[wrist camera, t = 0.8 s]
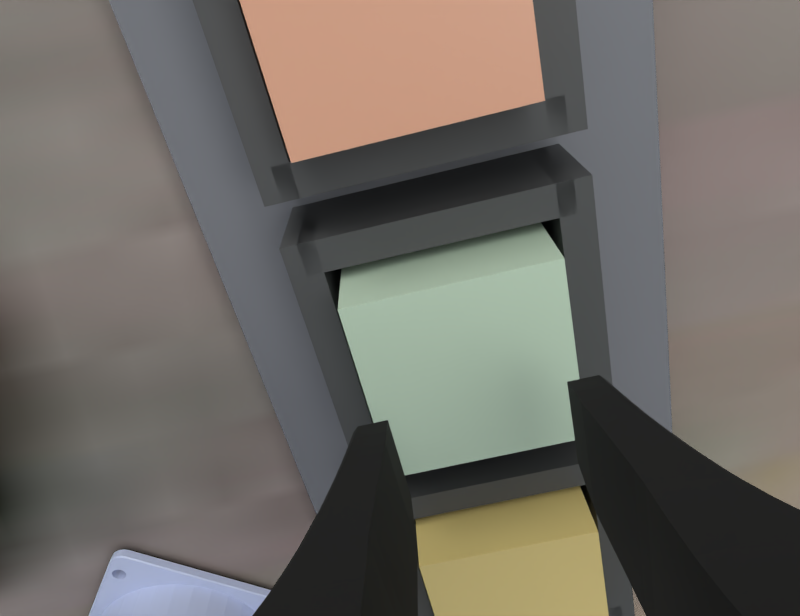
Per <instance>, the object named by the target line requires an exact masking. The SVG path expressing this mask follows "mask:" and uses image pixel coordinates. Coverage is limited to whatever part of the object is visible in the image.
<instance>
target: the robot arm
mask: <svg viewBox="0 0 800 616" xmlns="http://www.w3.org/2000/svg"><path fill="white" fill-rule="evenodd" d="M567 385H568V392H569V400H570V407H571V414H572V422H573V429H574V436H575V444H576V451H577V459H578V464H579V467H580V470H581V473H582V476H583V478H584V481H585V484H586V487H587V490H588V493H589V496H590V498H591V501H592V504H593V507H594V509H595V512H596V514H597V516H598V518H599V520H600V522H601V524H602V526H603V528H604V530H605V532H606V534H607V536H608V538H609V541H610V543H611V545H612V547H613V549H614V551H615V553H616V555H617V557H618V559H619V561H620V563H621V565H622V567H623V569H624V571H625V573H626V575H627V577H628V579H629V581H630V583H631V585H632V587H633V589H634V591H635V593H636V595H637V598H638V600H639V602H640V604H641V606H642V608H643V610H644V612H645V614H646V616H800V510H799V509H797V508H795V507H793V506H791V505H789V504H787V503H785V502H783V501H781V500H779V499H777V498H775V497H773V496H771V495H769V494H767V493H765V492H764V491H762V490H760V489H758V488H756V487H755V486H753V485H751V484H749V483H747V482H746V481H744V480H742V479H740V478H739V477H737V476H735V475H734V474H732V473H730V472H729V471H727V470H726V469H724V468H722V467H721V466H719V465H718V464H716V463H715V462H713V461H712V460H710V459H708V458H707V457H705V456H704V455H702V454H701V453H699V452H698V451H696V450H695V449H694V448H692V447H691V446H689V445H688V444H686V443H685V442H683V441H682V440H681V439H679V438H678V437H677V436H675V435H674V434H673V433H671V432H670V431H669V430H667V429H666V428H665V427H663V426H662V425H660V424H659V423H658V422H656V421H655V420H654V419H653V418H651V417H650V416H649V415H647V414H646V413H645V412H644V411H643V410H641V409H640V408H639V407H638V406H636V405H635V404H634V403H633V402H631V401H630V400H629V399H628V398H627V397H626V396H624V395H623V394H622V393H621V392H620V391H619V390H617V389H616V388H615V387H614V386H613V385H612V384H610V383H609V382H608V381H607V380H606V379H605V378H603V377H602V376H600V375H596V376H592V377H587V378H582V379H578V380H573V381H568V382H567ZM88 616H418V571H417V540H416V531H415V523H414V515H413V507H412V500H411V495H410V491H409V488H408V485H407V482H406V478H405V475H404V472H403V468H402V465H401V462H400V459H399V455H398V452H397V449H396V445H395V442H394V439H393V436H392V432H391V429H390V426H389V422H388V420H385V421H381V422H376V423H371V424H367V425H362V426H358V427H357V428H356V429H355V431H354V432H353V435H352V437H351V440H350V443H349V445H348V448H347V450H346V453H345V455H344V458H343V460H342V463H341V465H340V467H339V469H338V472H337V474H336V476H335V479H334V481H333V483H332V485H331V487H330V489H329V491H328V493H327V495H326V497H325V500H324V502H323V504H322V506H321V508H320V510H319V512H318V514H317V515H316V517H315V519H314V521H313V523H312V525H311V526H310V528H309V530H308V532H307V534H306V535H305V537H304V539H303V541H302V543H301V544H300V546H299V548H298V550H297V551H296V553H295V554H294V556H293V558H292V559H291V561H290V563H289V564H288V566H287V567H286V569H285V570H284V572H283V573H282V575H281V576H280V578H279V579H278V581H277V582H276V584H275V585H274V587H273V588H272V590H269V589H265V588H262V587H258V586H255V585H251V584H248V583H244V582H241V581H237V580H234V579H230V578H227V577H223V576H219V575H216V574H212V573H209V572H205V571H202V570H198V569H195V568H191V567H188V566H184V565H181V564H177V563H173V562H170V561H166V560H163V559H159V558H156V557H152V556H149V555H145V554H142V553H138V552H135V551H131V550H126V549H123V550H118V551H116V552H114V554H113V555H112V557H111V560H110V562H109V565H108V567H107V570H106V572H105V575H104V577H103V580H102V582H101V585H100V587H99V590H98V593H97V595H96V598H95V600H94V603H93V605H92V608H91V610H90V613H89V615H88Z"/></svg>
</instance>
